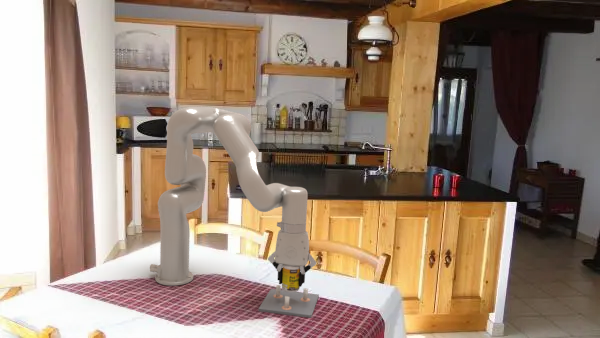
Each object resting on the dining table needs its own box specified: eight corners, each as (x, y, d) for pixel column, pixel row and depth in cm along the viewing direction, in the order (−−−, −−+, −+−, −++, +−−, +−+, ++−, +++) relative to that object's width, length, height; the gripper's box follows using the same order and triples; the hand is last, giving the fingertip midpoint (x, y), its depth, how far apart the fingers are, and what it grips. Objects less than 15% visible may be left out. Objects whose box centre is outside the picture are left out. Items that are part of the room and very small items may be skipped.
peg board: (258, 311, 149) (259, 297, 149) (270, 291, 165) (271, 278, 164) (311, 317, 146) (311, 304, 146) (318, 296, 162) (319, 284, 161)
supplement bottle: (287, 294, 151) (289, 262, 150) (278, 288, 156) (279, 256, 154) (303, 291, 154) (304, 259, 153) (293, 285, 159) (294, 254, 157)
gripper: (263, 227, 150) (261, 285, 152) (319, 233, 147) (316, 291, 150) (269, 221, 157) (267, 276, 160) (323, 227, 154) (319, 282, 157)
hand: (290, 283), depth 155 cm, fingers closed on supplement bottle, 5 cm apart
